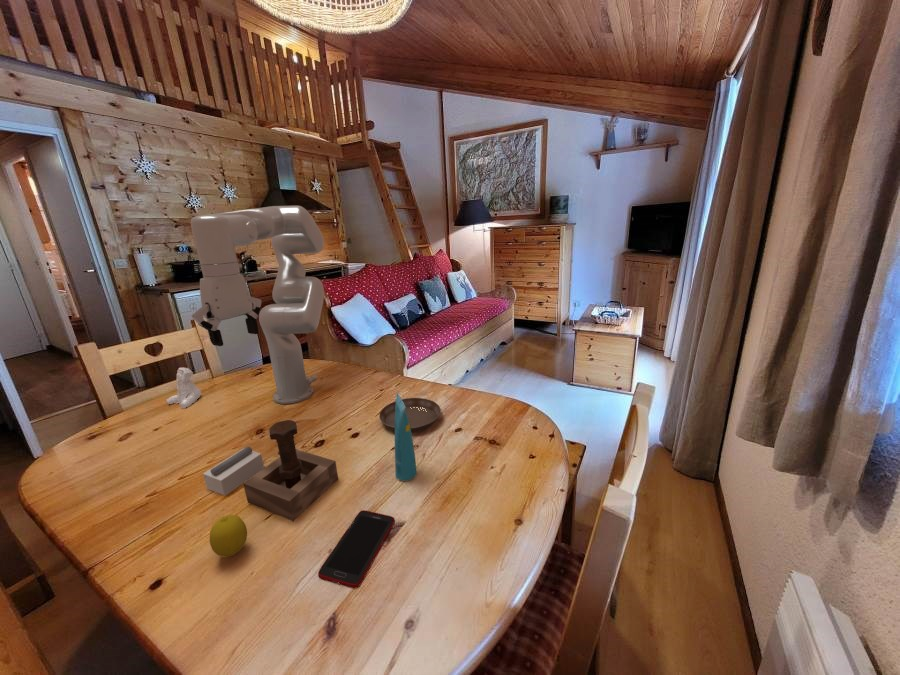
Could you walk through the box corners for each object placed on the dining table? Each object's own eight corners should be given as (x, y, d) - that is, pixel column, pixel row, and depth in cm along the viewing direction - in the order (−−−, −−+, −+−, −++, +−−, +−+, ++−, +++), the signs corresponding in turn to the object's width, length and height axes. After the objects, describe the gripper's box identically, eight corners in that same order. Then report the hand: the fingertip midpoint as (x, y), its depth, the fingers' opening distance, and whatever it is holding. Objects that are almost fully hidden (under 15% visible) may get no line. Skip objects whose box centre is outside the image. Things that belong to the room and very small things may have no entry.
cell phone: (316, 579, 60) (315, 574, 60) (361, 512, 73) (360, 508, 73) (357, 591, 58) (357, 586, 58) (396, 520, 71) (396, 516, 71)
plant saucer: (377, 411, 112) (376, 402, 111) (432, 401, 117) (432, 393, 116) (384, 443, 96) (383, 433, 95) (448, 430, 100) (448, 421, 99)
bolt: (312, 478, 81) (302, 420, 77) (301, 495, 77) (290, 433, 72) (287, 477, 82) (276, 419, 77) (275, 493, 77) (262, 432, 73)
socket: (295, 465, 88) (292, 447, 86) (338, 479, 82) (335, 461, 81) (247, 502, 76) (242, 483, 75) (293, 521, 71) (289, 501, 70)
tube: (421, 480, 81) (416, 404, 75) (401, 487, 79) (394, 409, 73) (410, 461, 88) (404, 390, 82) (391, 468, 86) (384, 394, 80)
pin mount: (247, 461, 90) (242, 442, 88) (264, 467, 87) (259, 447, 85) (207, 488, 81) (200, 467, 79) (225, 495, 79) (219, 474, 77)
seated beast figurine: (165, 404, 120) (154, 371, 116) (191, 393, 127) (182, 361, 123) (184, 409, 116) (174, 375, 112) (209, 397, 124) (201, 365, 120)
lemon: (225, 541, 67) (215, 506, 65) (256, 538, 68) (247, 504, 65) (209, 568, 62) (197, 532, 60) (242, 565, 62) (232, 529, 60)
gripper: (243, 265, 95) (256, 328, 100) (172, 275, 80) (192, 348, 85) (263, 266, 92) (275, 330, 97) (193, 276, 77) (212, 352, 82)
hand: (236, 339), depth 91 cm, fingers open, 9 cm apart
